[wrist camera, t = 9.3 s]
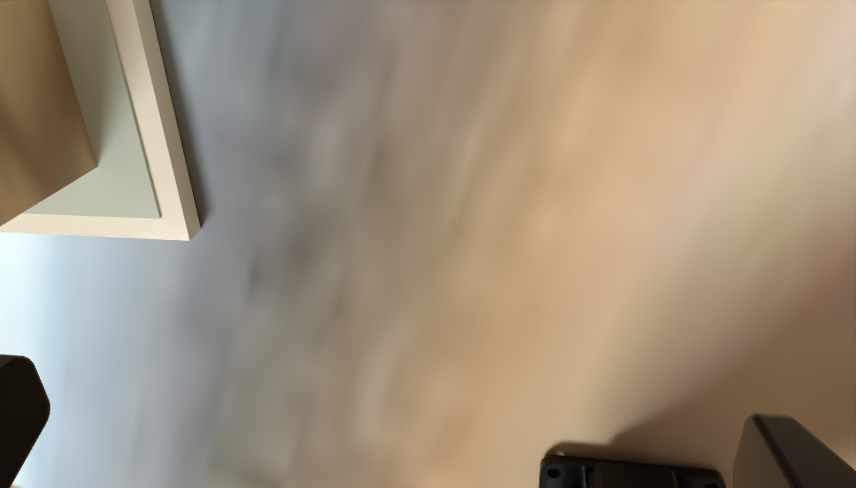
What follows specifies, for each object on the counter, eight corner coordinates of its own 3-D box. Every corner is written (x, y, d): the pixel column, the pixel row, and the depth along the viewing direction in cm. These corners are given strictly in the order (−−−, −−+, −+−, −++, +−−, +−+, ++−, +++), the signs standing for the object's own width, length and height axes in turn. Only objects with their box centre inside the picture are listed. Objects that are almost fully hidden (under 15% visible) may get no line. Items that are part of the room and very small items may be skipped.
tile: (200, 229, 22) (188, 241, 21) (-58, 218, 23) (-79, 229, 22) (123, -109, 17) (103, -109, 16) (-195, -95, 18) (-227, -94, 18)
